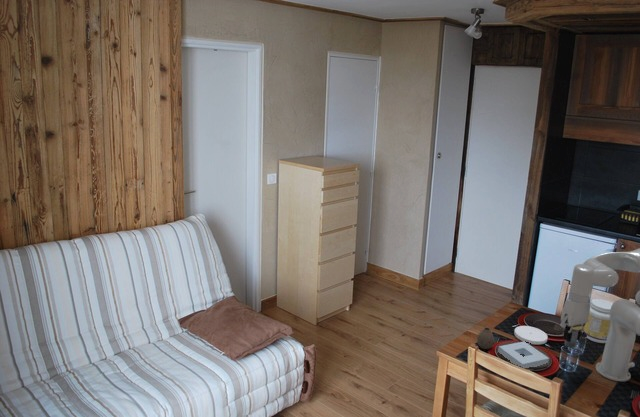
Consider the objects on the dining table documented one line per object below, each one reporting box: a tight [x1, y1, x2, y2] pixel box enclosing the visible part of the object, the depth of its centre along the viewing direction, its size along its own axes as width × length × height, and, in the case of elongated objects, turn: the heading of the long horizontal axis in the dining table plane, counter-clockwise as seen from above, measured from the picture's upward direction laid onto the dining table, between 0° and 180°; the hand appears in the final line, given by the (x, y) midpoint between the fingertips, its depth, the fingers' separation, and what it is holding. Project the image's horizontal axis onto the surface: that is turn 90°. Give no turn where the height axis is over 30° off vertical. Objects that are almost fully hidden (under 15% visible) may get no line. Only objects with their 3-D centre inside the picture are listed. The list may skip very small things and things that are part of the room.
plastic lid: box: [513, 325, 548, 345], centre depth 242 cm, size 14×14×2 cm
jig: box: [497, 341, 550, 368], centre depth 223 cm, size 14×14×4 cm
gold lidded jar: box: [564, 325, 583, 349], centre depth 209 cm, size 6×6×9 cm
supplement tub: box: [582, 298, 614, 344], centre depth 245 cm, size 12×12×17 cm
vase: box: [476, 327, 495, 350], centre depth 231 cm, size 7×7×9 cm
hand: (571, 338), depth 210 cm, fingers closed on gold lidded jar, 4 cm apart
